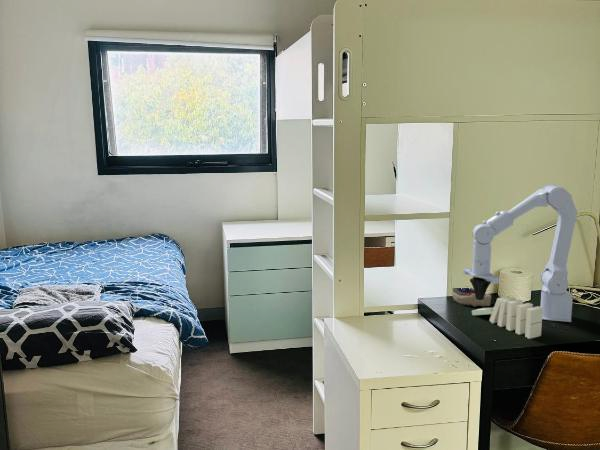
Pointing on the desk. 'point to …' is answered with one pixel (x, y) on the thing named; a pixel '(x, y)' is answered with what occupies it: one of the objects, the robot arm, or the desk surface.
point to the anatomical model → (469, 297)
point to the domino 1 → (482, 311)
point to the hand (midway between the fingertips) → (479, 299)
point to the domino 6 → (533, 322)
